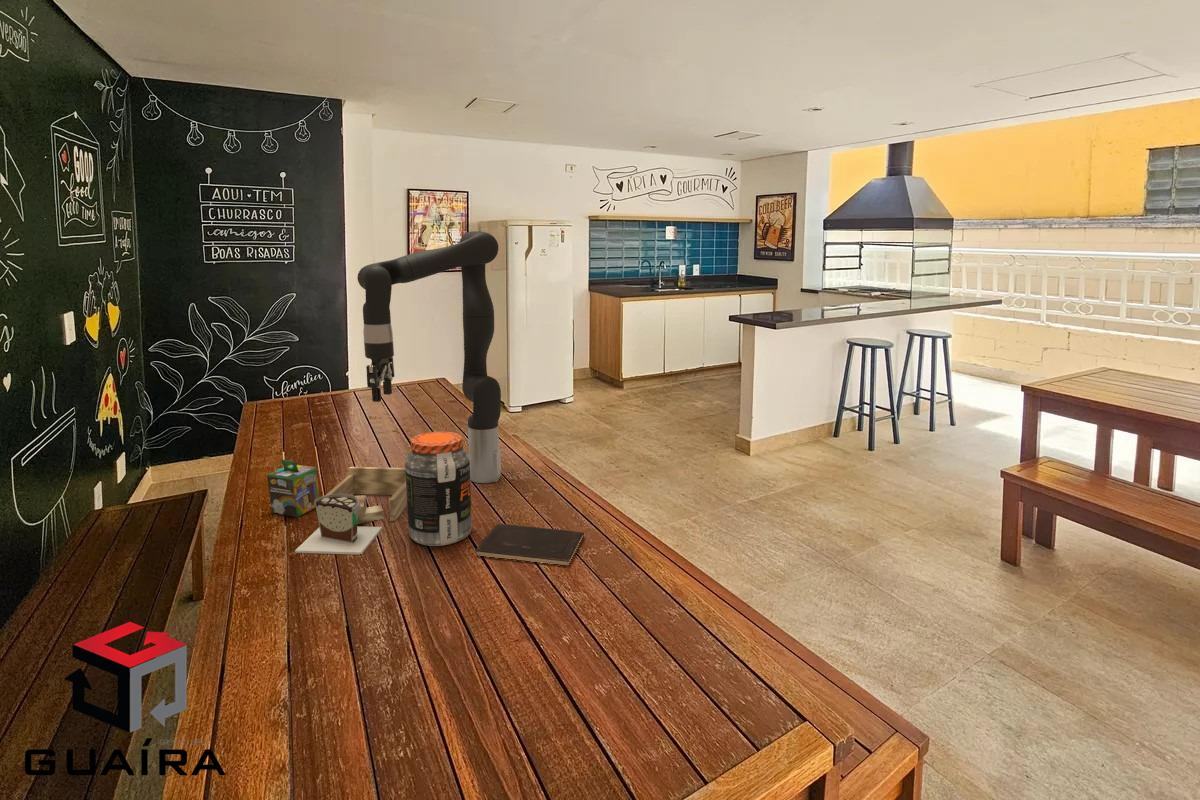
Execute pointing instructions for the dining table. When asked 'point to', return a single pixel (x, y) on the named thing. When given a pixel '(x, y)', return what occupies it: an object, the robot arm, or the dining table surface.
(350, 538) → the food container
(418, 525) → the supplement tub
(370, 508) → the offcut lower
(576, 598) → the dining table surface
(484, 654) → the dining table surface
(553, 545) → the hardcover book
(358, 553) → the mat
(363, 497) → the offcut upper
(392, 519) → the frame
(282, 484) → the chalk box
